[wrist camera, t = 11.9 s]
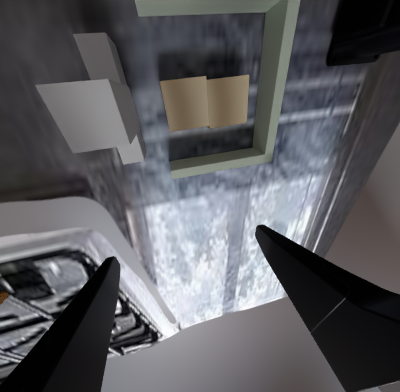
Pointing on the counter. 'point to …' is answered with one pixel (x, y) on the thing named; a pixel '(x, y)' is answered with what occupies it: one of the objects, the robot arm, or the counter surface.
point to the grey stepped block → (97, 103)
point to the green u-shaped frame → (268, 78)
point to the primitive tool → (3, 296)
